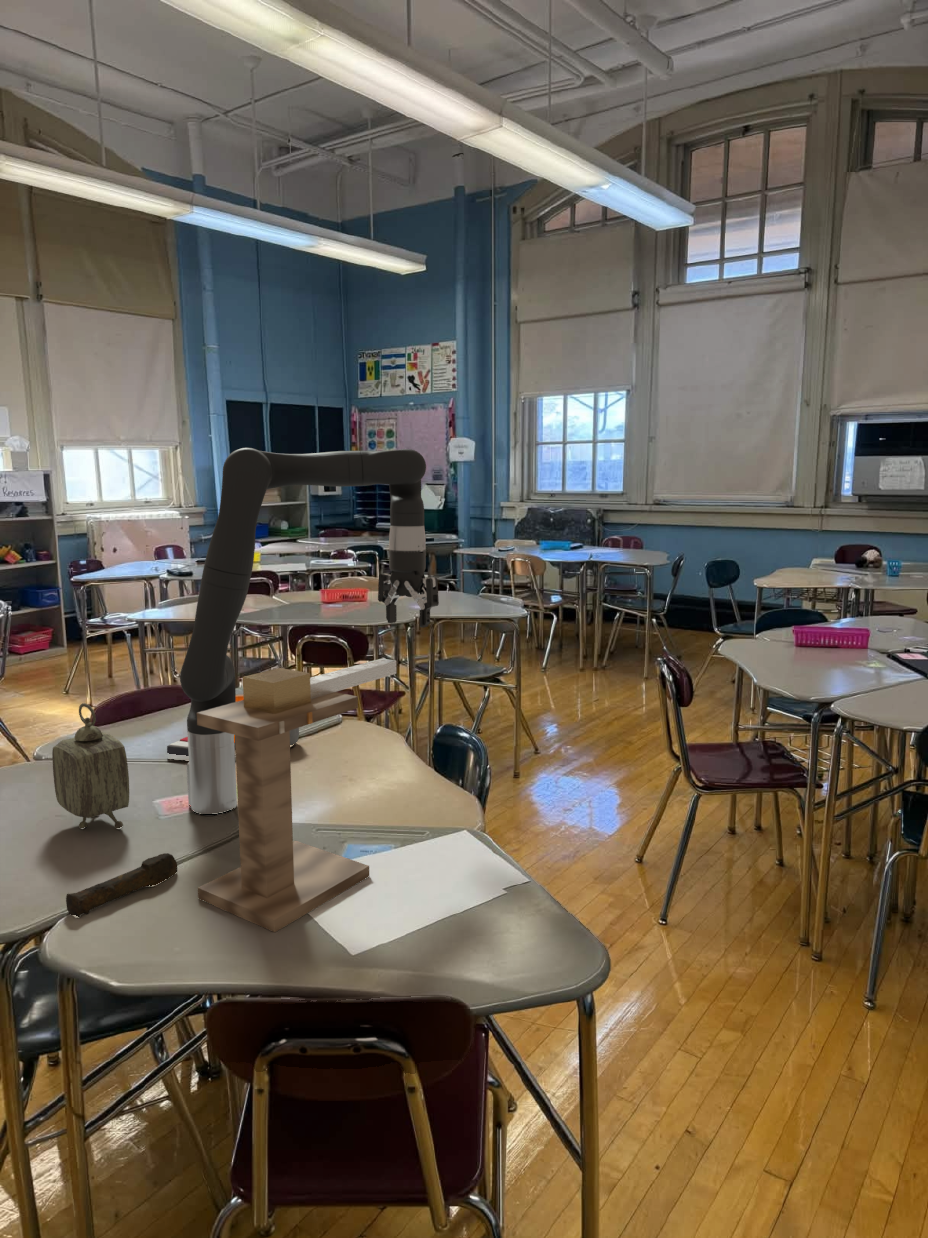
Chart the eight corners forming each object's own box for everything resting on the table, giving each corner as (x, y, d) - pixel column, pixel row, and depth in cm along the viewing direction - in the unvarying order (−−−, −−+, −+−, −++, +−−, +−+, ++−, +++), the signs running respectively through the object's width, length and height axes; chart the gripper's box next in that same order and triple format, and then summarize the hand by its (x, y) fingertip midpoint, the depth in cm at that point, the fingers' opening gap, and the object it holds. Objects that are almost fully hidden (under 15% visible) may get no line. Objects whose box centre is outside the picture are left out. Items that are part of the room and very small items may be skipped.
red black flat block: (238, 733, 215) (204, 747, 201) (239, 749, 216) (204, 764, 202) (202, 729, 219) (166, 743, 204) (202, 745, 219) (166, 760, 205)
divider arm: (243, 707, 134) (242, 676, 133) (375, 670, 160) (374, 644, 159) (274, 714, 130) (273, 683, 129) (403, 674, 156) (403, 648, 156)
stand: (198, 899, 137) (188, 710, 132) (295, 850, 155) (290, 683, 149) (274, 932, 127) (267, 730, 122) (369, 876, 145) (366, 698, 139)
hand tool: (77, 923, 130) (75, 895, 129) (65, 914, 132) (63, 887, 132) (185, 879, 144) (184, 854, 143) (173, 872, 147) (172, 847, 146)
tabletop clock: (132, 829, 164) (124, 706, 160) (85, 844, 157) (76, 716, 153) (100, 809, 173) (91, 693, 169) (55, 822, 167) (45, 701, 163)
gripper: (369, 547, 173) (370, 624, 176) (424, 550, 165) (424, 631, 168) (392, 544, 179) (392, 619, 182) (445, 548, 171) (445, 625, 174)
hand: (407, 624), depth 175 cm, fingers open, 8 cm apart
